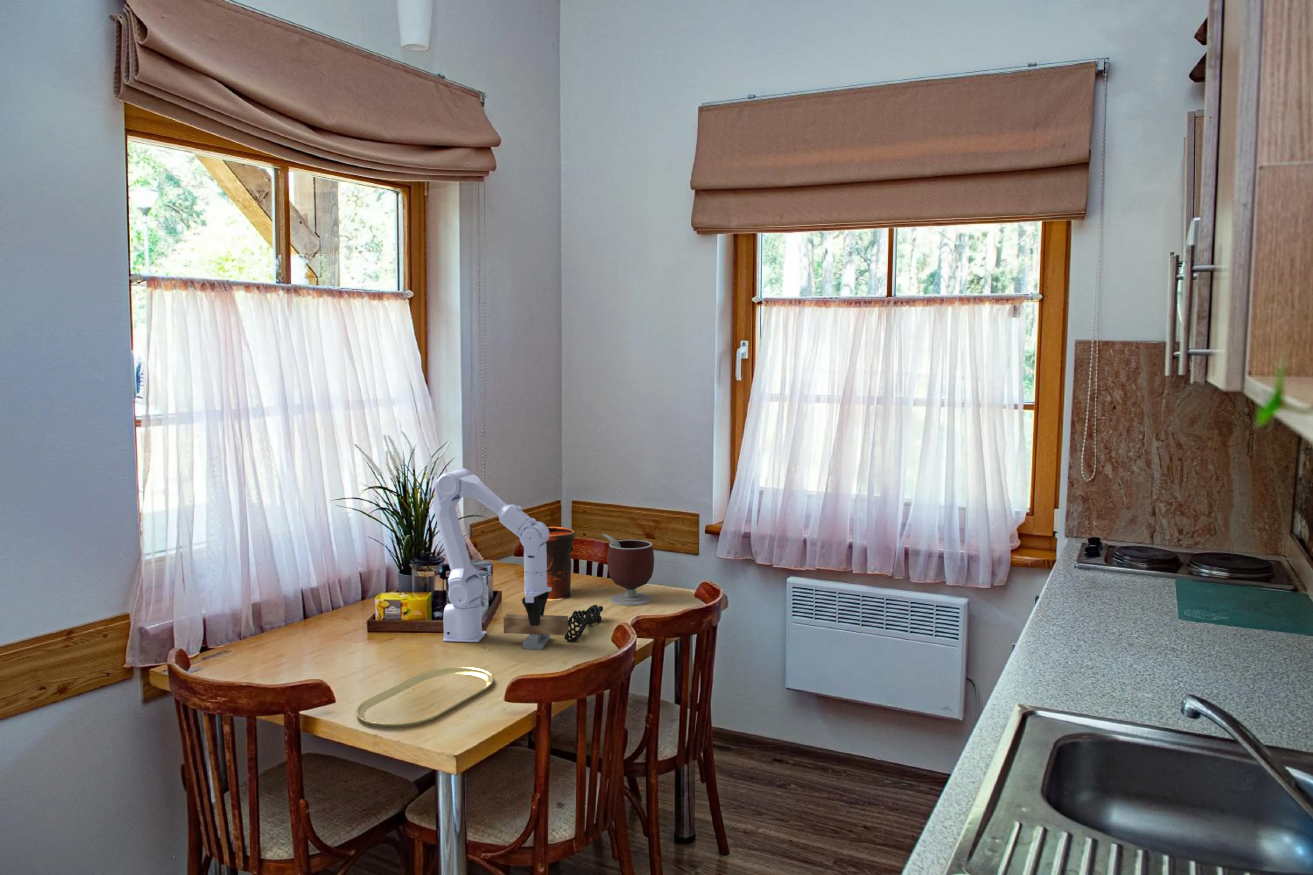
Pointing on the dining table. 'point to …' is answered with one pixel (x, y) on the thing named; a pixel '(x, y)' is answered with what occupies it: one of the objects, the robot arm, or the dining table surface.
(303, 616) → the dining table surface
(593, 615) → the decorative element
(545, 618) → the beam
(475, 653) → the dining table surface
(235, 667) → the dining table surface
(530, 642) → the fulcrum
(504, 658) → the dining table surface
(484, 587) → the robot arm
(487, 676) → the serving platter
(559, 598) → the vessel
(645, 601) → the mate gourd
